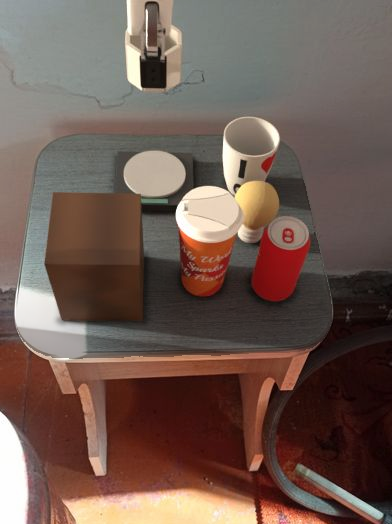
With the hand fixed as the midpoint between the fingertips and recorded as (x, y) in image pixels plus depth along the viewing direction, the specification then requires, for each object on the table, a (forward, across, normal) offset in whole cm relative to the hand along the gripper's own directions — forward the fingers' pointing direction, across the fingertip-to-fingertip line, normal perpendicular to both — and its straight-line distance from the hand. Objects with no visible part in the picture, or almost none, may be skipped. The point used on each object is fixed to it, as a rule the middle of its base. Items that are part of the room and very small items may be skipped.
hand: (153, 65), depth 71 cm
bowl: (+1, 0, 0) cm, 1 cm away
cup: (+21, +1, +14) cm, 25 cm away
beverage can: (+21, +20, +17) cm, 33 cm away
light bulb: (+21, +11, +14) cm, 27 cm away
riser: (+20, +20, -7) cm, 29 cm away
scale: (+20, +1, 0) cm, 20 cm away
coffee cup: (+20, +19, +7) cm, 28 cm away
